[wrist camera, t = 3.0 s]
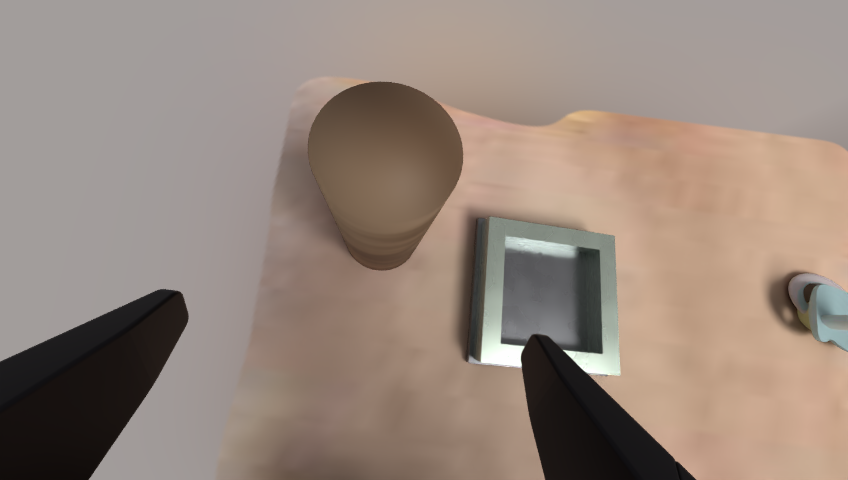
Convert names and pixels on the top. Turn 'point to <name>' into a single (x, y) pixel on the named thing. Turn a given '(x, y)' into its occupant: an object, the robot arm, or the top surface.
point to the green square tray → (543, 294)
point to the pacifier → (822, 308)
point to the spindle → (384, 167)
